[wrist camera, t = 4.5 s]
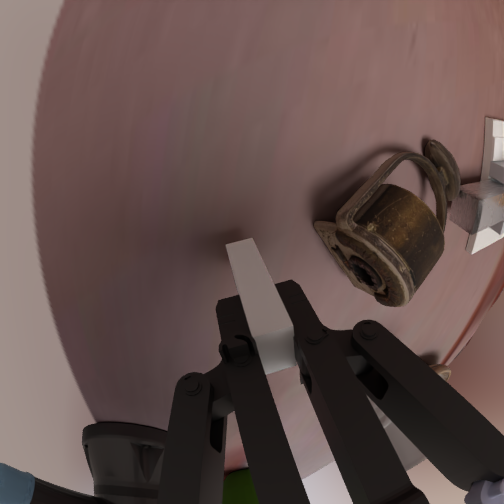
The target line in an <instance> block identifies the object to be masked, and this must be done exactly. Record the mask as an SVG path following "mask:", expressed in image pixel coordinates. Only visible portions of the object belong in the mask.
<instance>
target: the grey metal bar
mask: <svg viewBox="0 0 504 504" xmlns="http://www.w3.org/2000/svg"><path fill="white" fill-rule="evenodd" d="M449 220H450V221H452V222H453V223H455V224H456V225H458V226H459V227H461V228H462V229H464V230H465V231H466V232H468V233H469V234H471V235H473V234H475V233H477V232H479V231H482V230H484V229H486V228H488V227H490V226H493V225H495V224H497V223H499V222H501V221H503V220H504V183H502V182H500V181H498V180H497V179H491V180H485V181H480V182H475V183H470V184H465V185H461V186H460V191H459V195H458V196H457V197H456V199H455V200H452V205H451V211H450V216H449Z"/></svg>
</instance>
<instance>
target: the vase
mask: <svg viewBox="0 0 504 504" xmlns="http://www.w3.org/2000/svg"><path fill="white" fill-rule="evenodd" d="M222 504H259V502H258V498H257V495H256V491H255V488H254V484H253V481H252V477H251V474H250V470H249V469H243V470H238V471H235V472H232V473H230V474H229V475H228V476H227V477H226V479H225V480H224V482H223V498H222Z"/></svg>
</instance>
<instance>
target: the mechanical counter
mask: <svg viewBox="0 0 504 504" xmlns="http://www.w3.org/2000/svg"><path fill="white" fill-rule="evenodd" d="M403 160H412V161H414V162H416V163H417V164H418V165H420V166H421V167H422V168H423V169H424V170H425V172H426V173H427V175H428V178H429V181H430V184H431V187H432V189H433V191H434V194H435V199H436V216H435V214H434V213H433V212H432V211H431V209H430V208H429V207H428V206H427V205H426V204H425V203H424V202H423V201H422V200H421V199H419V198H418V197H417V196H416V195H414V194H413V193H411V192H410V191H408V190H406V189H403V188H401V187H399V186H397V185H392V184H382V183H383V182H384V180H385V179H386V178H387V177H388V176H389V175H390V174H391V173H392V171H393V170H394V169H395V168H396V167H397V166H398V165H399V164H400V163H401V162H402V161H403ZM460 183H461V179H460V173H459V168H458V166H457V163H456V161H455V159H454V157H453V156H452V154H451V153H450V152H449V151H448V150H447V149H446V148H445V147H444V146H443V145H442V144H441V143H440V142H438V141H436V140H429V142H428V144H427V145H426V147H425V156H423V155H421V154H419V153H413V152H400V153H398V154H395V155H393V156H392V157H391V158H389V159H388V160H386V161H385V162H384V163H383V164H382V165H381V166H380V167H379V169H378V170H377V171H376V172H375V173H374V175H373V176H372V177H371V178H370V179H369V180H368V181H367V182H366V183H365V184H363V185H362V186H361V187H360V188H359V190H358V191H357V192H356V193H355V194H354V195H353V196H352V197H351V198H350V199H349V200H348V201H347V202H346V203H345V204H344V205H343V206H342V208H341V209H340V210H339V211H338V212H337V214H336V223H333V222H327V221H315V223H314V228H315V229H316V231H317V232H318V234H319V235H320V237H321V238H322V240H323V241H324V243H325V244H326V246H327V247H328V249H329V250H330V252H331V254H332V255H333V256H334V258H335V259H336V261H337V262H338V264H339V265H340V267H341V268H342V269H343V271H344V272H345V274H346V275H347V277H348V278H349V279H350V281H351V282H352V284H353V285H354V286H355V287H357V288H359V289H361V290H363V291H365V292H367V293H369V294H370V295H372V296H374V297H375V299H376V300H377V302H380V303H381V304H382V305H385V306H390V307H392V306H393V307H400V306H405V305H406V304H407V303H408V302H409V301H410V300H411V299H412V297H413V295H414V293H415V292H416V291H417V289H418V288H419V287H420V285H421V284H422V283H423V281H424V280H425V278H426V277H427V275H428V274H429V273H430V271H431V270H432V268H433V267H434V265H435V264H436V263H437V261H438V260H439V258H440V257H441V255H442V253H443V251H444V245H445V240H444V230H445V225H446V219H447V200H448V201H452V200H455V199H456V197H457V196H458V195H459V191H460ZM381 184H382V185H381ZM446 199H447V200H446Z"/></svg>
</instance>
